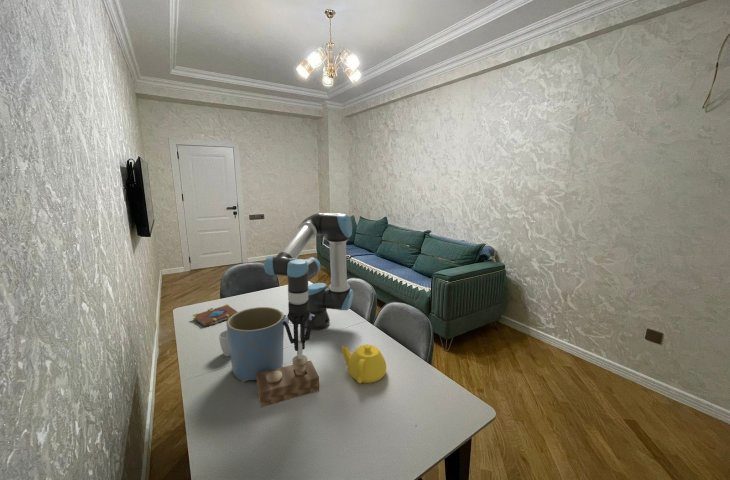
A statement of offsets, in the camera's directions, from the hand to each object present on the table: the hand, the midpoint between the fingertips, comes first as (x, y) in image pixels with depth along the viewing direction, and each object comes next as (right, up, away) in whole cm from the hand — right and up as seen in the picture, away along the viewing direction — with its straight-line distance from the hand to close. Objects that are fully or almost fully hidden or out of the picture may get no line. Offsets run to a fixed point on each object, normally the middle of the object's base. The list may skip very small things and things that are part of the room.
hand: (299, 357), depth 120 cm
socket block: (-5, -13, +1) cm, 14 cm away
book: (-61, 0, +62) cm, 87 cm away
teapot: (+25, -12, +11) cm, 29 cm away
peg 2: (0, -8, +2) cm, 8 cm away
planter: (-21, -10, +14) cm, 27 cm away
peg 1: (-9, -13, -2) cm, 16 cm away
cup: (-38, -8, +24) cm, 46 cm away
